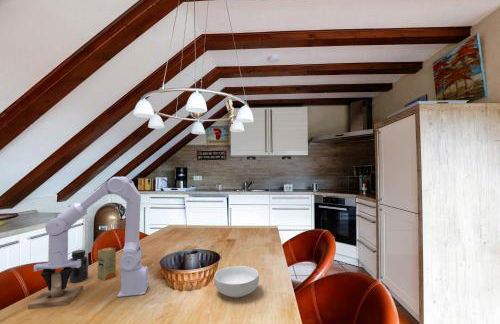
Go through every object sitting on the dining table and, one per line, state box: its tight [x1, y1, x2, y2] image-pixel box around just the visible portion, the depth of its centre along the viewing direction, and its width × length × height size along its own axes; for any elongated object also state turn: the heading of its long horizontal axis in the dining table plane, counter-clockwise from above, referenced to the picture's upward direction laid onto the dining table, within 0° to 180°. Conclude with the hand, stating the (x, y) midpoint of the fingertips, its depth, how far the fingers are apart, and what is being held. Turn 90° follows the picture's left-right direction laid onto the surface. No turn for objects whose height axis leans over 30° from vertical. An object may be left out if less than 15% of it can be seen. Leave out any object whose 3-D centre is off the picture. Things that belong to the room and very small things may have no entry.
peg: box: [51, 271, 64, 298], centre depth 94 cm, size 4×4×8 cm
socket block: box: [27, 285, 84, 310], centre depth 94 cm, size 12×12×2 cm
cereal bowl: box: [213, 265, 260, 299], centre depth 97 cm, size 17×17×7 cm
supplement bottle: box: [68, 249, 89, 284], centre depth 111 cm, size 7×7×12 cm
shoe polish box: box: [97, 246, 117, 282], centre depth 113 cm, size 5×5×12 cm
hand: (57, 289), depth 94 cm, fingers closed on peg, 3 cm apart
